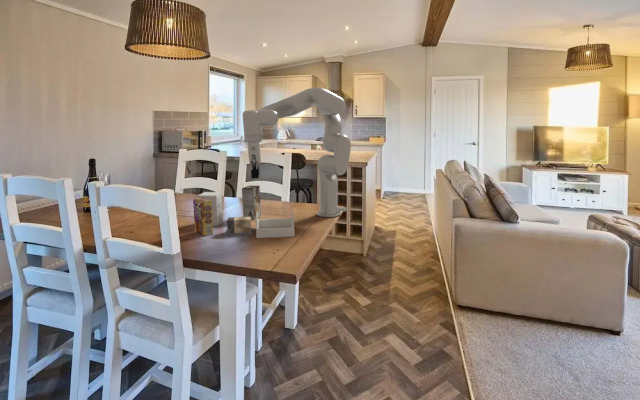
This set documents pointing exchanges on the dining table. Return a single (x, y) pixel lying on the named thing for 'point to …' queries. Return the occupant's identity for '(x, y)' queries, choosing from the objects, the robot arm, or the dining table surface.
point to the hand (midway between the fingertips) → (255, 176)
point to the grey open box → (266, 229)
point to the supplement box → (214, 206)
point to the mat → (238, 233)
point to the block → (239, 225)
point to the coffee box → (251, 201)
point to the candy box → (203, 216)
